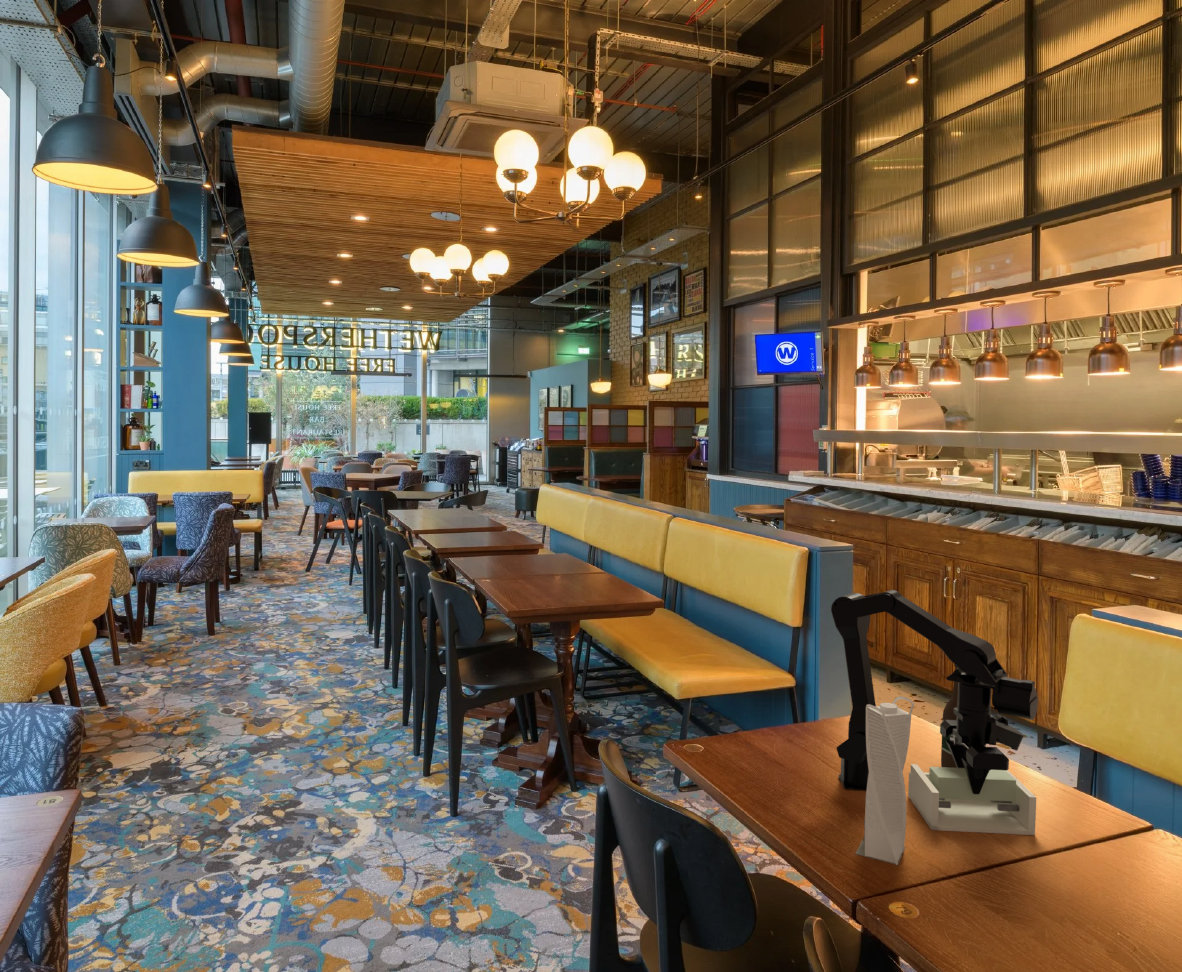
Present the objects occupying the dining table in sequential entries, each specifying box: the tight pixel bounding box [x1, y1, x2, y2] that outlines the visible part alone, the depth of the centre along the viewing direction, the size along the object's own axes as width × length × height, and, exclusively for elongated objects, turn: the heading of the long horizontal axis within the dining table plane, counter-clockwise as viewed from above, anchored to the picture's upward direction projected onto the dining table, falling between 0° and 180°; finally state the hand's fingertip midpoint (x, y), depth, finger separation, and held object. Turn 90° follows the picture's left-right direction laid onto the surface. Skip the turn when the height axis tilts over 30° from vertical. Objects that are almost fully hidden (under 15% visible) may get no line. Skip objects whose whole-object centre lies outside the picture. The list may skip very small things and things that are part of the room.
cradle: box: [907, 763, 1037, 836], centre depth 155 cm, size 18×14×7 cm
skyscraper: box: [855, 695, 915, 866], centre depth 140 cm, size 8×8×28 cm
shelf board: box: [928, 766, 1016, 801], centre depth 154 cm, size 14×5×4 cm, turn 86°
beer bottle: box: [940, 663, 958, 768], centre depth 176 cm, size 8×8×24 cm
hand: (970, 788), depth 154 cm, fingers closed on shelf board, 5 cm apart
